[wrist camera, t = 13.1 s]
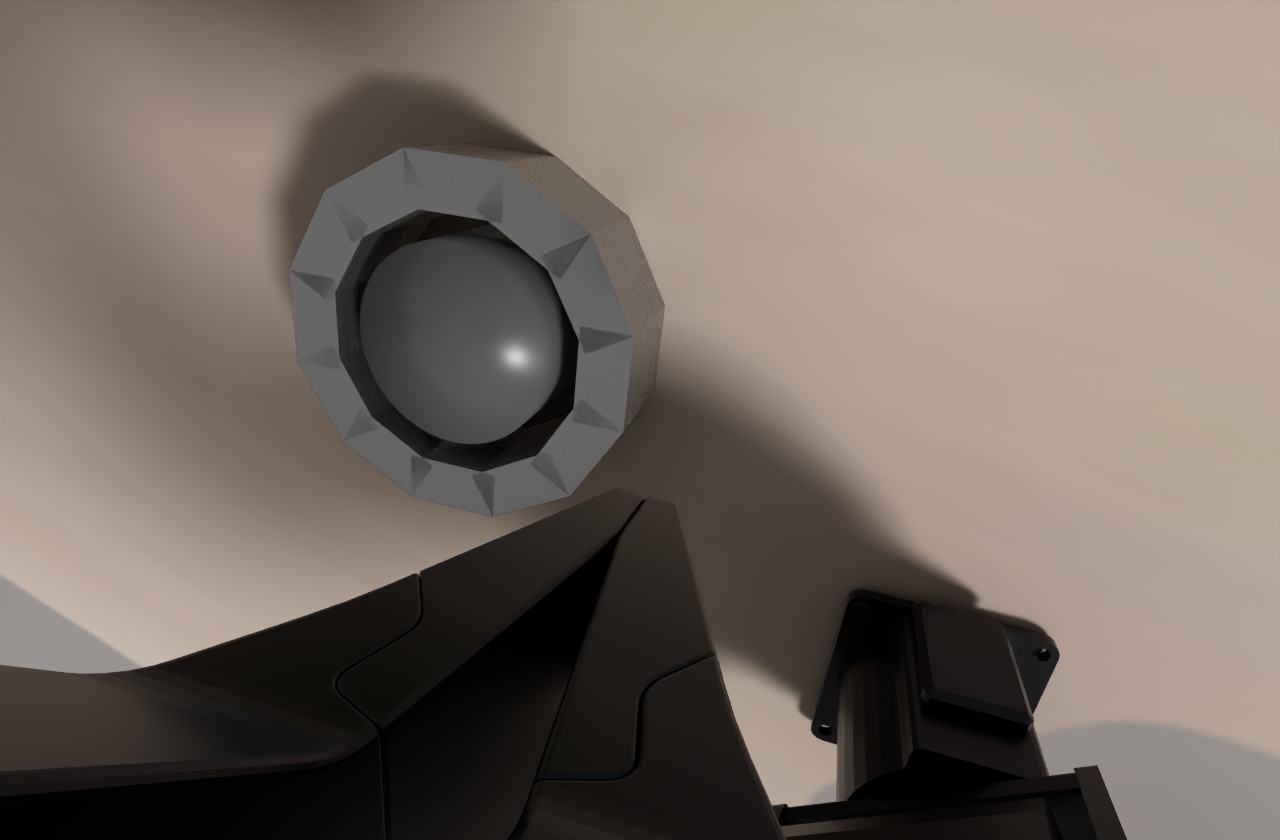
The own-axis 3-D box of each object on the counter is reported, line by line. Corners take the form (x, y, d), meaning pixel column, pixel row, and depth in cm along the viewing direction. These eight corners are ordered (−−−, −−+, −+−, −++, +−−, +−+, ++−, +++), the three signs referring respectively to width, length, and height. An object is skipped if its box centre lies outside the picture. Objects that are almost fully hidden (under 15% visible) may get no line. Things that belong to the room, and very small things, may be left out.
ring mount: (640, 492, 24) (610, 547, 21) (371, 428, 26) (307, 469, 23) (681, 174, 20) (651, 184, 17) (356, 127, 22) (275, 127, 19)
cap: (563, 431, 24) (516, 476, 21) (413, 359, 25) (347, 392, 22) (616, 269, 21) (572, 293, 18) (446, 195, 22) (376, 206, 19)
